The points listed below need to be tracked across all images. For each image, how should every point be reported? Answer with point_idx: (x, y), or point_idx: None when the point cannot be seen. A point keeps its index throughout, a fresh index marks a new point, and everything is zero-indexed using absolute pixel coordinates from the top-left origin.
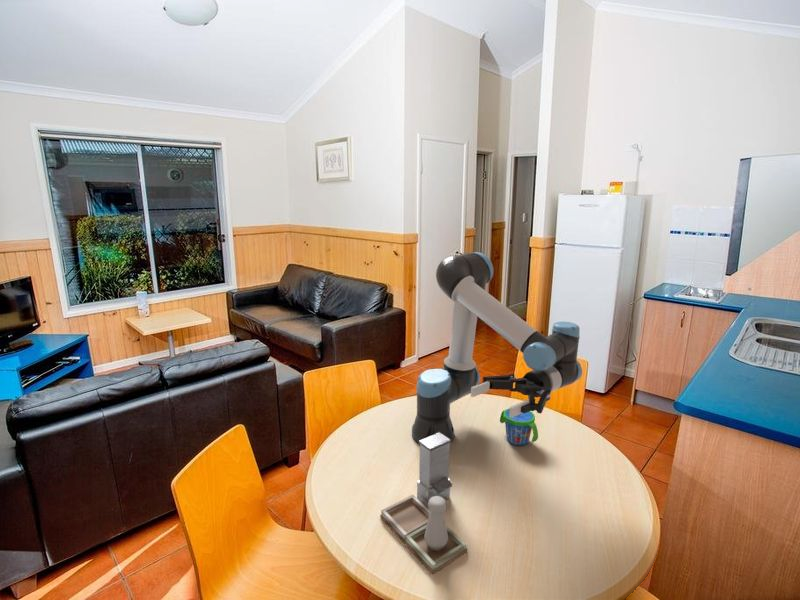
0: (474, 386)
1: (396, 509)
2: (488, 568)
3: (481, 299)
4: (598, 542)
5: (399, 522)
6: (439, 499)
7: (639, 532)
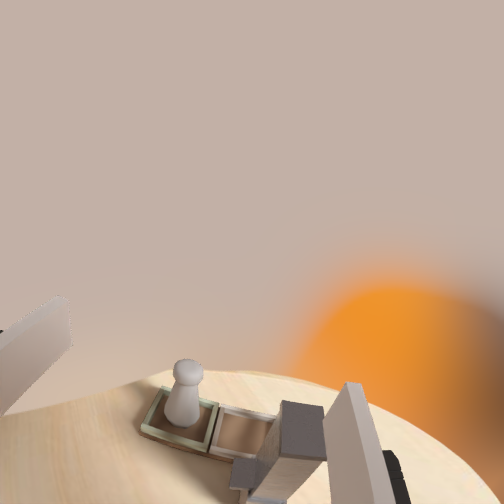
0: (361, 399)
1: None
2: (103, 422)
3: None
4: None
5: (248, 424)
6: (187, 368)
7: None
